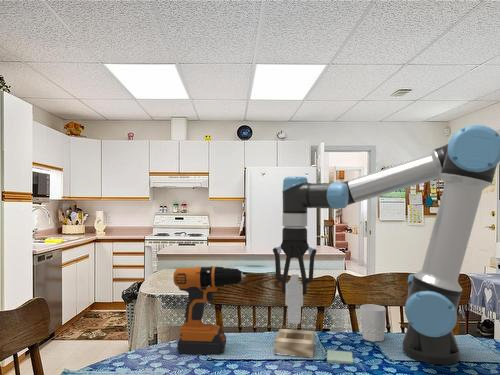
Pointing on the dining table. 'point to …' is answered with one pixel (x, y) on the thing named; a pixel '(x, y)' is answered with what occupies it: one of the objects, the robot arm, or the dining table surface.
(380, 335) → the white cup
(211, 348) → the power drill
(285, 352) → the socket block
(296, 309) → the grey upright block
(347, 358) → the mat
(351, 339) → the dining table surface
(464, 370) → the dining table surface
